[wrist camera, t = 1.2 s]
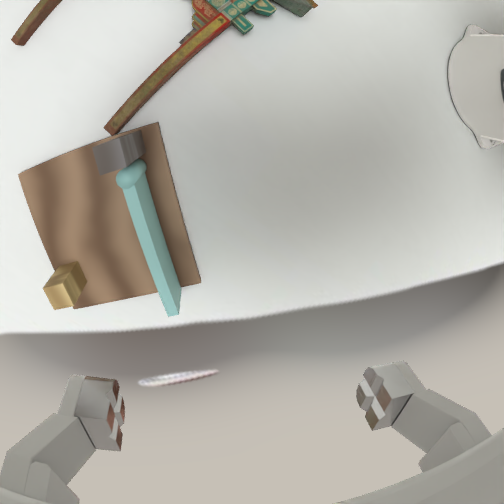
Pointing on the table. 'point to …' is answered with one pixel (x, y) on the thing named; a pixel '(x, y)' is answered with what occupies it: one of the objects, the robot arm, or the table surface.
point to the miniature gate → (205, 30)
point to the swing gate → (150, 233)
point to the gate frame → (104, 220)
